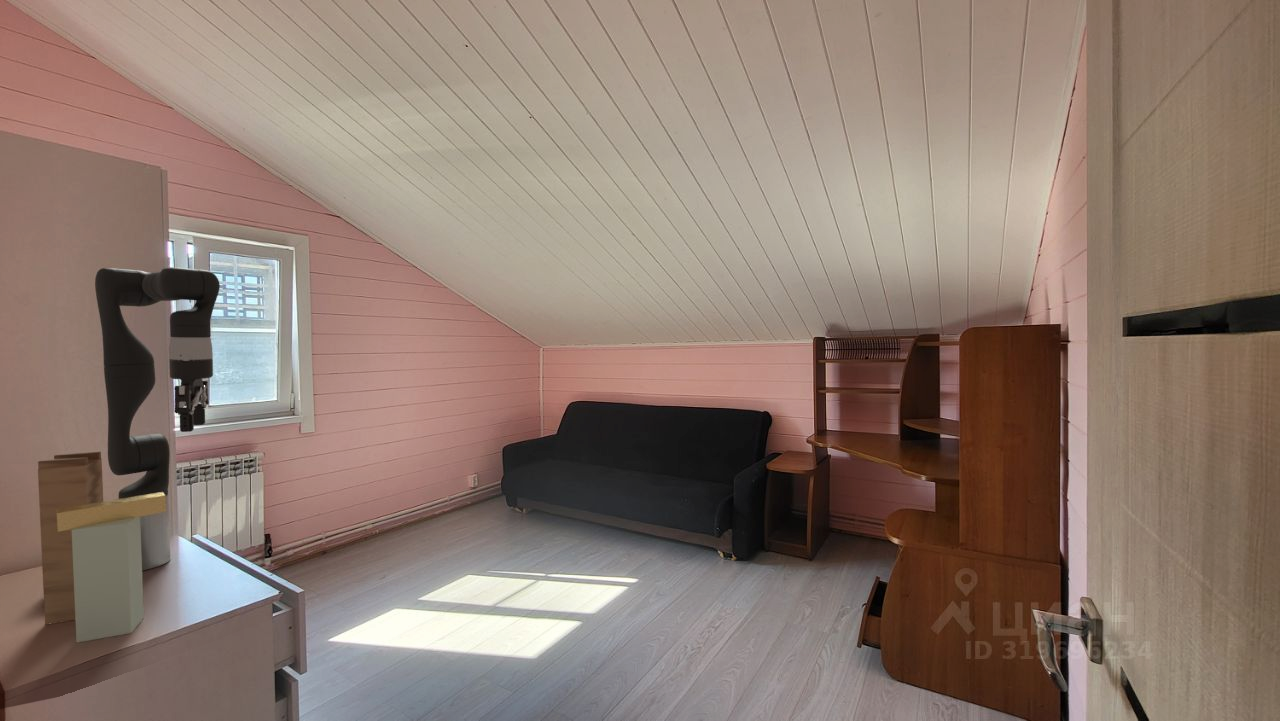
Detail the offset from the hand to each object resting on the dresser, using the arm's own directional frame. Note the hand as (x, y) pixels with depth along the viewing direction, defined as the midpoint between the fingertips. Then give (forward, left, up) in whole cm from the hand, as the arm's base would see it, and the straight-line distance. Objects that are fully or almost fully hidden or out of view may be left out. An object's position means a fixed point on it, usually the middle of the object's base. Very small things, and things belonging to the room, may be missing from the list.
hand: (193, 428), depth 121 cm
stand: (+3, -20, -38) cm, 43 cm away
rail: (+13, -10, -16) cm, 22 cm away
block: (+14, -10, -38) cm, 41 cm away
